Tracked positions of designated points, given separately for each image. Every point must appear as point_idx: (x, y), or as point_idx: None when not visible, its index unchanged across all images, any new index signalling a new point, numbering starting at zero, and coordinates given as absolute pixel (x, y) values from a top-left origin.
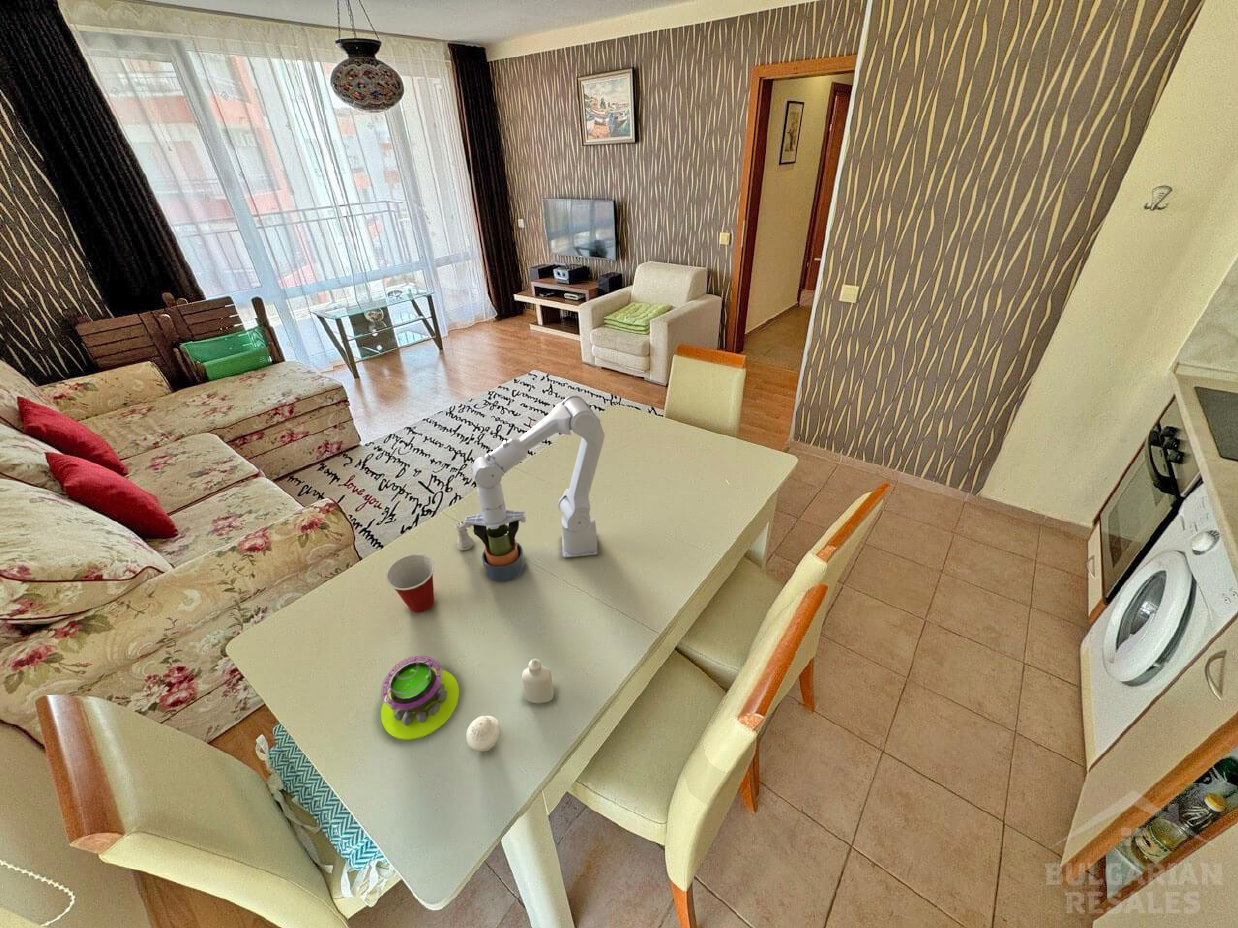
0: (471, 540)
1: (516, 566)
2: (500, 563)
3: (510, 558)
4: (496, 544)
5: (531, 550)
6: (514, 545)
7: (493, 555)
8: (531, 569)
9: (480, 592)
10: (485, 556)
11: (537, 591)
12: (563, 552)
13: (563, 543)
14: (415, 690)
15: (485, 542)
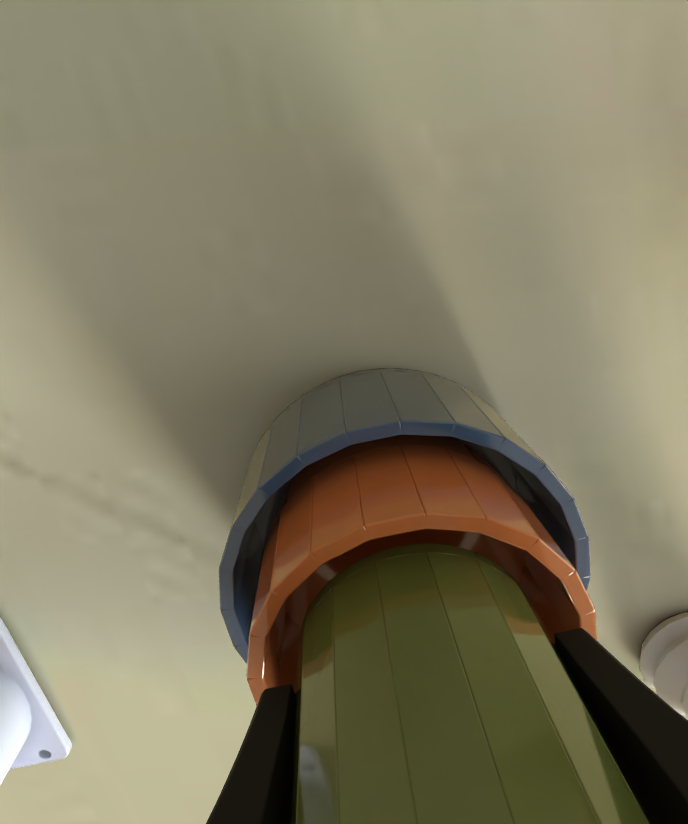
0: (668, 688)
1: (253, 476)
2: (387, 470)
3: (293, 532)
4: (464, 696)
5: None
6: None
7: None
8: (187, 495)
9: (514, 247)
10: None
11: (58, 288)
12: (4, 648)
13: (39, 715)
14: None
15: (641, 713)
